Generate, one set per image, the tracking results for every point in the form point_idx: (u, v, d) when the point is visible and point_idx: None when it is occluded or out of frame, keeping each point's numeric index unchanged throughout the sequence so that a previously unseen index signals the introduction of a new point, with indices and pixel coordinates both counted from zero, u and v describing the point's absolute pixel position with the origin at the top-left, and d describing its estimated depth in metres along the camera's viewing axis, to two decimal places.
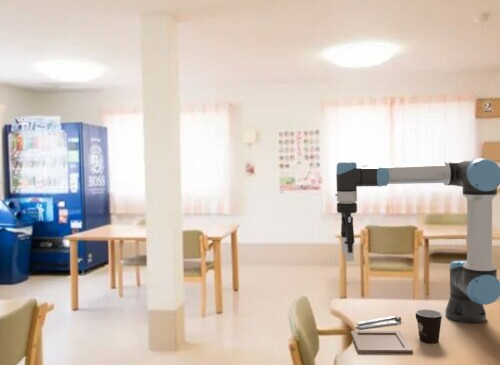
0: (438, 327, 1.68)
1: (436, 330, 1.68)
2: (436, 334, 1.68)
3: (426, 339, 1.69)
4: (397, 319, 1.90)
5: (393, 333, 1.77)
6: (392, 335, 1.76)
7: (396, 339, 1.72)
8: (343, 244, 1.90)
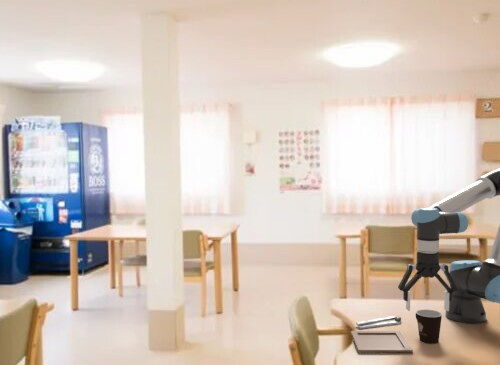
0: (438, 327, 1.68)
1: (436, 330, 1.68)
2: (436, 334, 1.68)
3: (426, 339, 1.69)
4: (397, 319, 1.90)
5: (393, 333, 1.77)
6: (392, 335, 1.76)
7: (396, 339, 1.72)
8: (445, 299, 1.72)
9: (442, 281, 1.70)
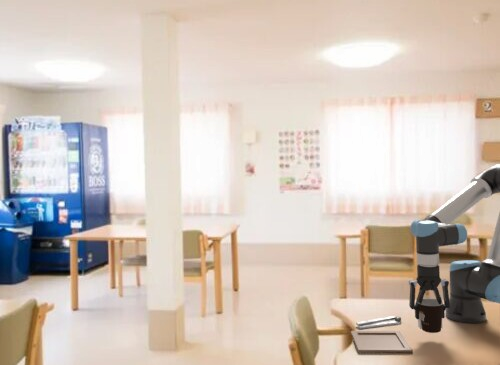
0: (440, 316, 1.68)
1: (438, 319, 1.68)
2: (438, 323, 1.68)
3: (428, 328, 1.69)
4: (397, 319, 1.90)
5: (393, 333, 1.77)
6: (392, 335, 1.76)
7: (396, 339, 1.72)
8: None
9: (438, 296, 1.71)
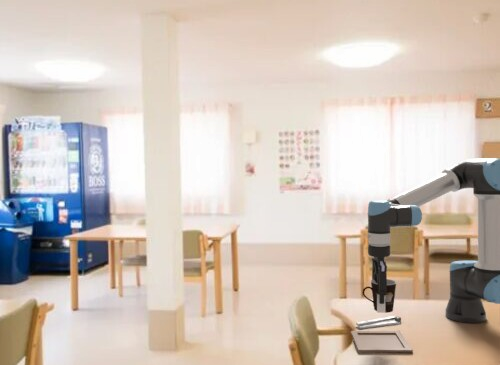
0: None
1: None
2: None
3: (392, 307, 1.67)
4: (397, 319, 1.90)
5: (393, 333, 1.77)
6: (392, 335, 1.76)
7: (396, 339, 1.72)
8: None
9: None
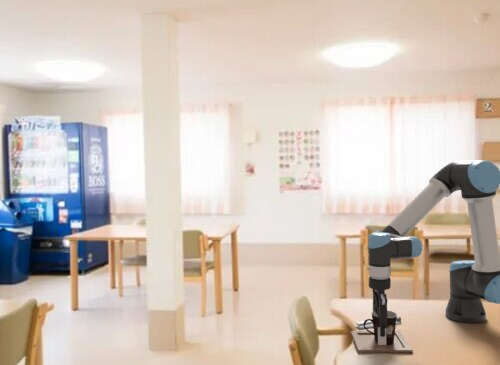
0: None
1: None
2: None
3: (393, 339, 1.68)
4: (397, 319, 1.90)
5: None
6: None
7: (396, 339, 1.72)
8: None
9: None
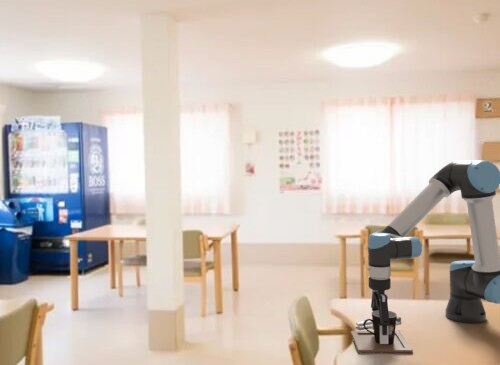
0: None
1: None
2: None
3: (393, 339, 1.68)
4: (397, 319, 1.90)
5: None
6: None
7: (396, 339, 1.72)
8: None
9: None
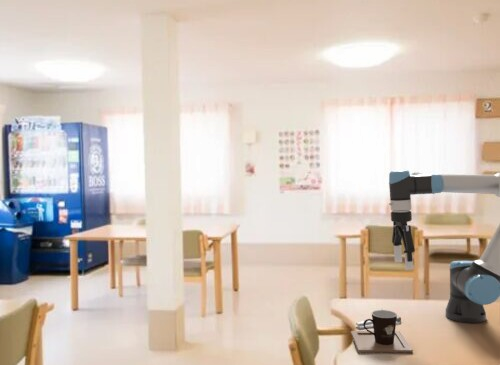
0: None
1: None
2: None
3: (393, 339, 1.68)
4: (397, 319, 1.90)
5: None
6: None
7: (396, 339, 1.72)
8: (396, 252, 1.90)
9: None
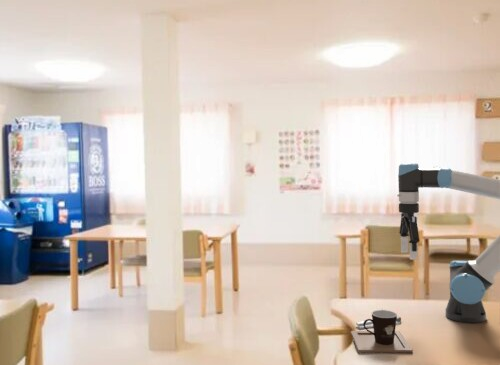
0: None
1: None
2: None
3: (393, 339, 1.68)
4: (397, 319, 1.90)
5: None
6: None
7: (396, 339, 1.72)
8: (403, 243, 1.96)
9: None
